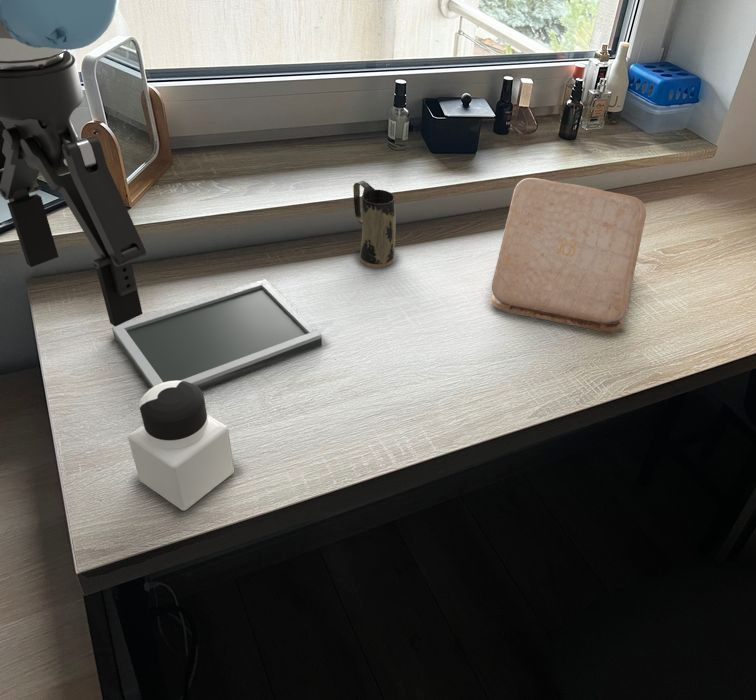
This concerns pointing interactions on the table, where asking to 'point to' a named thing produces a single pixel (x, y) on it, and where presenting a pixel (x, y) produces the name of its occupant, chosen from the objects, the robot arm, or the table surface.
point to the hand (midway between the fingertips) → (83, 288)
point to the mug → (376, 225)
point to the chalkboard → (217, 337)
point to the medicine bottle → (180, 444)
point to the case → (568, 254)
